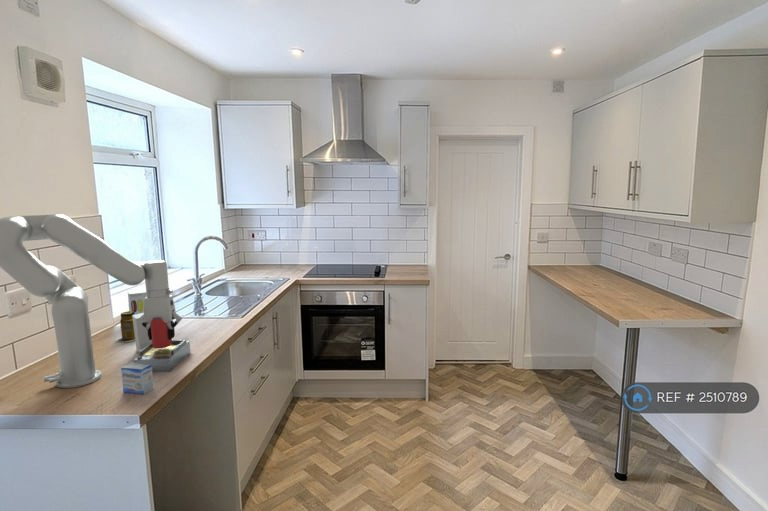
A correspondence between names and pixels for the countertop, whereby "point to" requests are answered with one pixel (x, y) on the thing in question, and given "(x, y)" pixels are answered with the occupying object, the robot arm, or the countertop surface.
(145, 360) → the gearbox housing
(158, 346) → the beer can
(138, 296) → the supplement box
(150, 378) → the medicine box
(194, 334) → the countertop surface
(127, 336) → the condiment
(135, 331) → the skincare box
